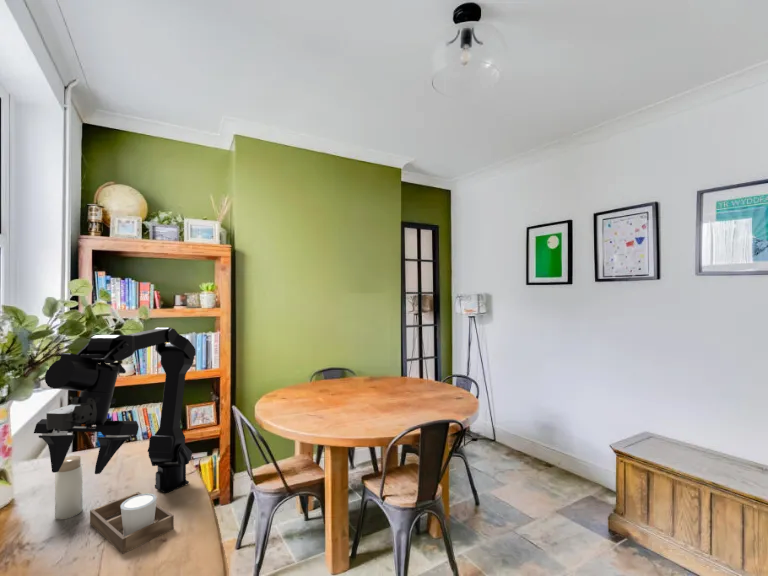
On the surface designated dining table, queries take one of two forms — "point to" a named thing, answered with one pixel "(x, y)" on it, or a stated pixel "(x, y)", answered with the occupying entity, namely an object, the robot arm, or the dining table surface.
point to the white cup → (138, 512)
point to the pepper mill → (69, 488)
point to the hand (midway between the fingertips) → (76, 473)
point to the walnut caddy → (115, 524)
